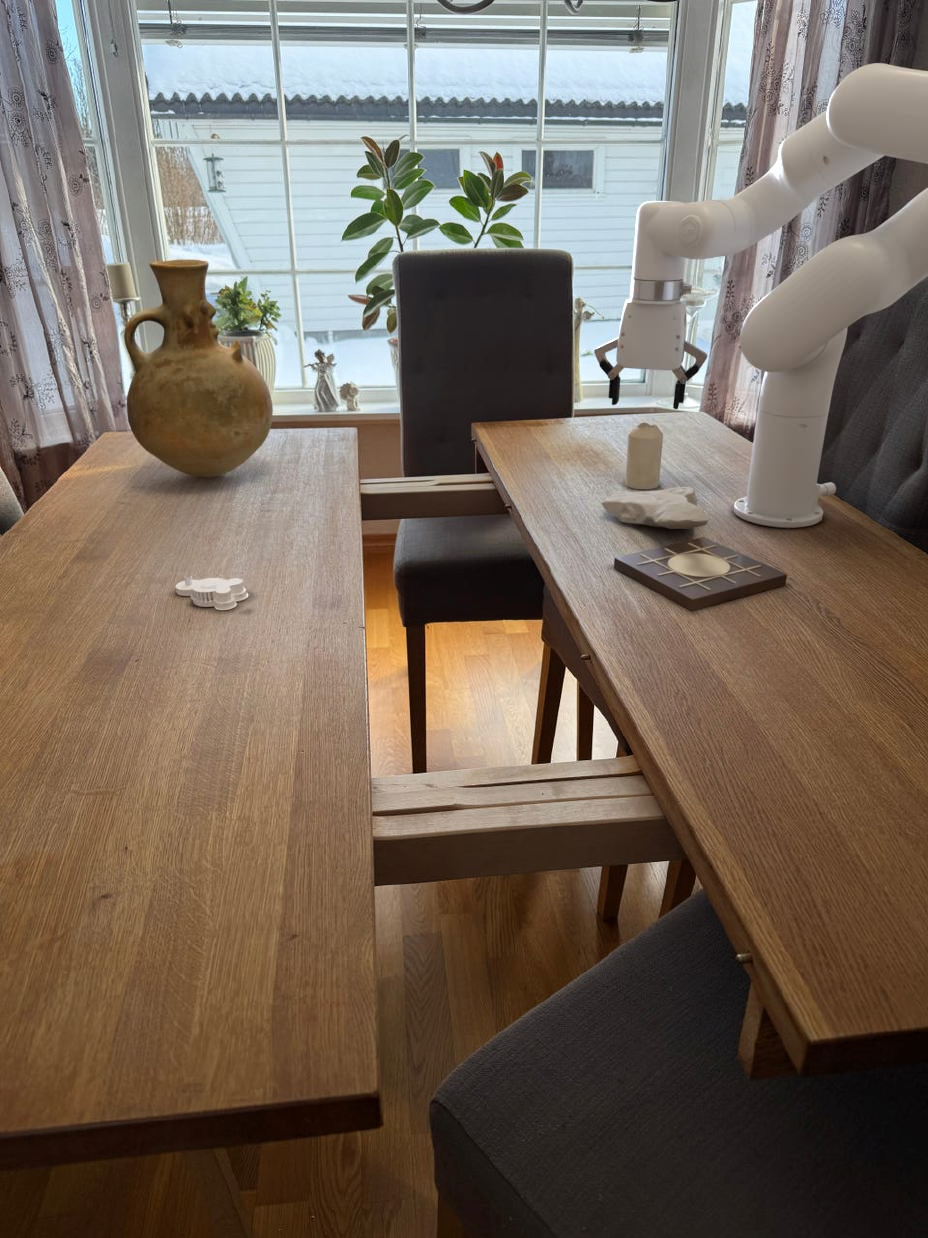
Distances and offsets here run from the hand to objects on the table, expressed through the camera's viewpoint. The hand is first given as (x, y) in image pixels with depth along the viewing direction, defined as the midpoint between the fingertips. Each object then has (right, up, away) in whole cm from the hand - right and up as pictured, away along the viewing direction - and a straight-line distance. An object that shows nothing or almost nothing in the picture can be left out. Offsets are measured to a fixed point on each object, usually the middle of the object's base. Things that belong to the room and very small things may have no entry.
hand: (645, 405), depth 141 cm
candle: (+1, -12, +6) cm, 13 cm away
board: (+1, -29, -29) cm, 41 cm away
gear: (-59, -32, -33) cm, 75 cm away
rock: (-1, -20, -11) cm, 23 cm away
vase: (-74, -9, +14) cm, 75 cm away
